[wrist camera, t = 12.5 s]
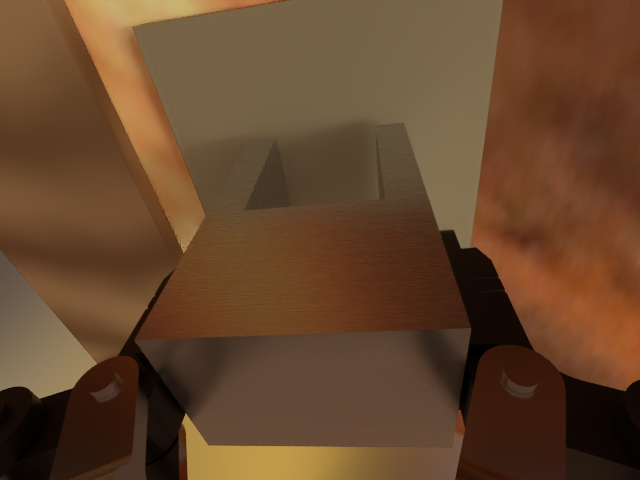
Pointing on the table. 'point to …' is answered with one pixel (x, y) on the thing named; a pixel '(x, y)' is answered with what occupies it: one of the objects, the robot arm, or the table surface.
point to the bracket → (315, 313)
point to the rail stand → (74, 183)
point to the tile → (332, 93)
